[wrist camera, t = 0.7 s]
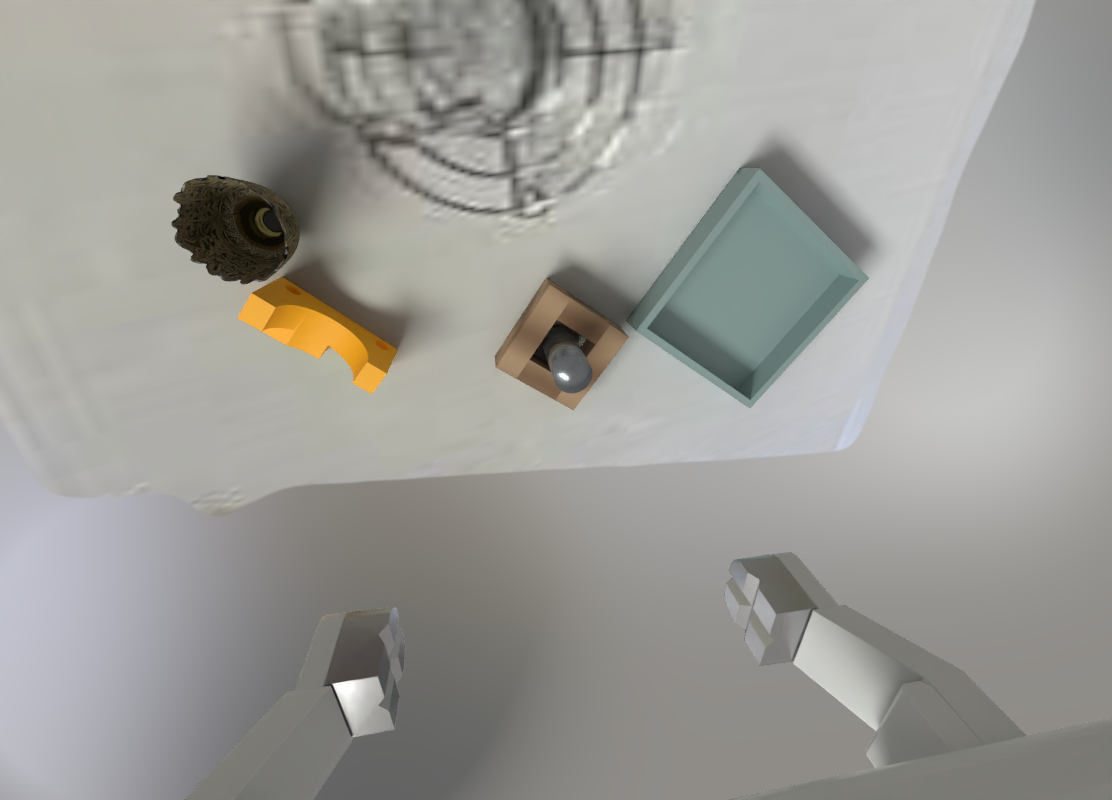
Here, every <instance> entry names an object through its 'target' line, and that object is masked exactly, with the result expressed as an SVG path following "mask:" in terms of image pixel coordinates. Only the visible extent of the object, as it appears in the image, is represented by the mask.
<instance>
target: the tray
mask: <svg viewBox="0 0 1112 800" xmlns="http://www.w3.org/2000/svg"><path fill="white" fill-rule="evenodd" d="M868 279H869V277H868V276H867V275H866V274H865V273H864V272H863V271H862V270H861V269H860V268H859V267H858V266H857V265H856V264H855V263H854V262H853V261H852V260H851V259H850V258H849V257H848V256H847V255H846V254H845V253H844V252H843V251H842V250H841V249H840V248H839V247H838V246H837V245H836V244H835V243H834V242H833V241H832V240H831V239H830V238H829V237H828V236H827V235H826V234H825V233H824V232H823V231H822V230H821V229H820V228H819V227H818V226H817V225H816V224H815V223H814V222H813V221H812V220H811V219H810V218H809V217H808V216H807V215H806V214H805V213H804V212H803V211H802V210H801V209H800V208H799V207H798V206H797V205H796V204H795V203H794V202H793V201H792V200H791V199H790V198H789V197H788V196H787V195H786V194H785V193H784V192H783V191H782V190H781V189H780V188H779V187H778V186H777V185H776V184H775V183H774V182H773V181H772V180H771V179H770V178H769V177H768V176H767V175H766V174H765V173H764V172H763V171H762V170H761V169H760V168H739V170H738V171H737V172H736V174H735V175H734V177H733V178H732V179H731V181H730V182H729V183H728V185H727V186H726V187H725V189H724V190H723V191H722V193H721V194H720V195H719V197H718V198H717V199H716V201H715V202H714V203H713V205H712V206H711V207H710V209H709V210H708V211H707V213H706V214H705V215H704V217H703V218H702V220H701V221H700V222H699V224H698V225H697V226H696V228H695V229H694V230H693V232H692V233H691V234H690V236H689V237H688V238H687V240H686V241H685V242H684V244H683V245H682V246H681V248H680V249H679V250H678V252H677V253H676V254H675V256H674V257H673V258H672V260H671V261H670V263H669V264H668V265H667V267H666V268H665V269H664V271H663V272H662V273H661V275H660V276H659V277H658V279H657V280H656V281H655V283H654V284H653V285H652V287H651V288H650V289H649V291H648V292H647V293H646V295H645V296H644V297H643V299H642V300H641V302H640V303H639V304H638V306H637V307H636V308H635V310H634V311H633V312H632V314H631V315H630V316H629V318H628V319H627V320H626V321H627V322H628V323H629V324H630V325H631V326H632V327H633V328H634V329H635V330H636V331H637V332H639V333H640V334H642V335H643V336H644V337H646V338H647V339H649V340H650V341H652V342H653V343H655V344H656V345H658V346H659V347H661V348H662V349H664V350H665V351H666V352H668V353H669V354H671V355H672V356H674V357H675V358H677V359H678V360H680V361H681V362H683V363H684V364H686V365H687V366H689V367H690V368H691V369H693V370H694V371H696V372H697V373H699V374H700V375H702V376H703V377H705V378H706V379H708V380H709V381H711V382H712V383H713V384H715V385H716V386H718V387H719V388H721V389H722V390H724V391H725V392H727V393H728V394H730V395H731V396H733V397H734V398H735V399H737V400H738V401H740V402H741V403H743V404H744V405H746V406H747V407H749V408H751V407H752V406H753V405H754V404H755V402H756V401H757V400H758V399H759V398H760V397H761V396H762V395H763V394H764V393H765V392H766V390H767V389H768V388H769V387H770V386H771V385H772V384H773V383H774V382H775V381H776V379H777V378H778V377H779V376H780V375H781V374H782V373H783V372H784V371H785V370H786V369H787V367H788V366H789V365H790V364H791V363H792V362H793V361H794V360H795V359H796V358H797V357H798V355H799V354H800V353H801V352H802V351H803V350H804V349H805V348H806V347H807V346H808V344H809V343H810V342H811V341H812V340H813V339H814V338H815V337H816V336H817V335H818V334H819V332H820V331H821V330H822V329H823V328H824V327H825V326H826V325H827V324H828V323H829V322H830V320H831V319H832V318H833V317H834V316H835V315H836V314H837V313H838V312H839V311H840V309H841V308H842V307H843V306H844V305H845V304H846V303H847V302H848V301H849V300H850V299H851V297H852V296H853V295H854V294H855V293H856V292H857V291H858V290H859V289H860V288H861V287H862V285H863V284H864V283H865V282H866V281H867V280H868Z"/></svg>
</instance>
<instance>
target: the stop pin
mask: <svg viewBox="0 0 1112 800" xmlns="http://www.w3.org/2000/svg"><path fill="white" fill-rule="evenodd" d="M542 347H543V350H544V353H545V356H546V358H547V361H548V364H549V367H550V370H551V373H552V375H553V378H554V381H555V384H556V385H557V387H558V388H559V389H560V390H562V391H563V392H566V393H578V392H580V391H582V390H584V389H585V388H586V387H587V386H588V385H589V384H590V382H591V380H592V376H593V371H592V368H591V366H590V364H589V362H588V360H587V359H586V357H585V355H584V353H583V352H582V350H581V348H580V346H579V344H578V343H577V341H576V339H575V337H574V336H573V334H572V332H571V331H570V330H569V329H567V328H565V327H562V326H556V327H553V328H551V329H550V330H549V332H548V333H547V335H546V336H545V338H544V339H543V341H542Z"/></svg>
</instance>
